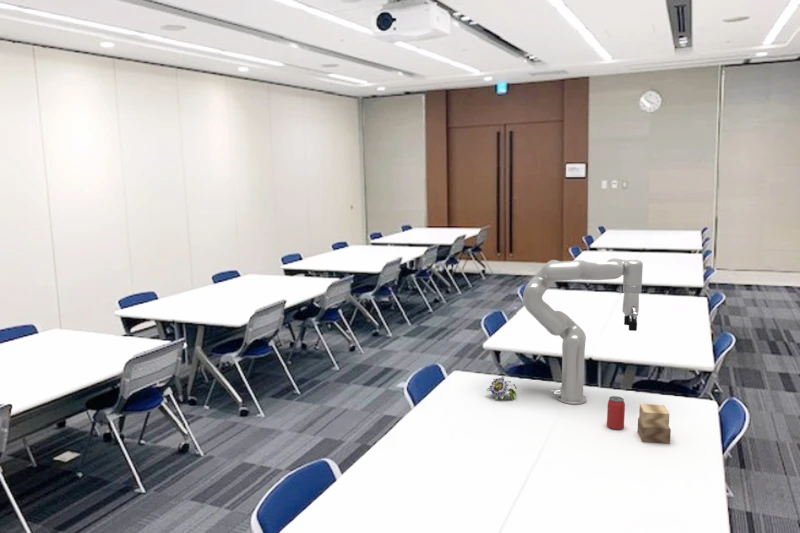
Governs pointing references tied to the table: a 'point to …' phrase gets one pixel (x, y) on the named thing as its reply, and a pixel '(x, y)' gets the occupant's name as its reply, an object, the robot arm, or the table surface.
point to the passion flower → (501, 388)
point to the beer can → (615, 413)
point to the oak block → (654, 416)
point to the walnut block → (653, 434)
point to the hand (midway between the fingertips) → (630, 327)
